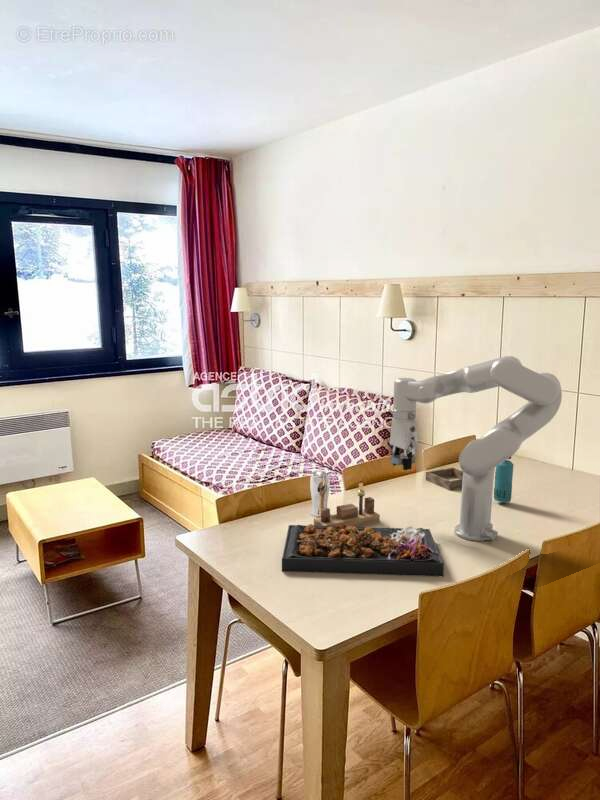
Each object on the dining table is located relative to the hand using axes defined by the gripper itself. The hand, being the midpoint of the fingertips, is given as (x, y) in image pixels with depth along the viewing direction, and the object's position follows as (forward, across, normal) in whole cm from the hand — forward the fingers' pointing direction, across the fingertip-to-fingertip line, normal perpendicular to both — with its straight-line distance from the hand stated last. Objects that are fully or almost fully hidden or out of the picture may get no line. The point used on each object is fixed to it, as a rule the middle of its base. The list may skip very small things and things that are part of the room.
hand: (402, 466), depth 198 cm
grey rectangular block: (-1, 0, 0) cm, 1 cm away
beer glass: (+20, +18, +22) cm, 34 cm away
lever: (+10, +9, +10) cm, 17 cm away
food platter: (+20, -17, +27) cm, 38 cm away
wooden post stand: (+20, +6, +18) cm, 27 cm away
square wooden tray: (+19, +25, -45) cm, 55 cm away
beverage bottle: (+20, -3, -45) cm, 49 cm away
